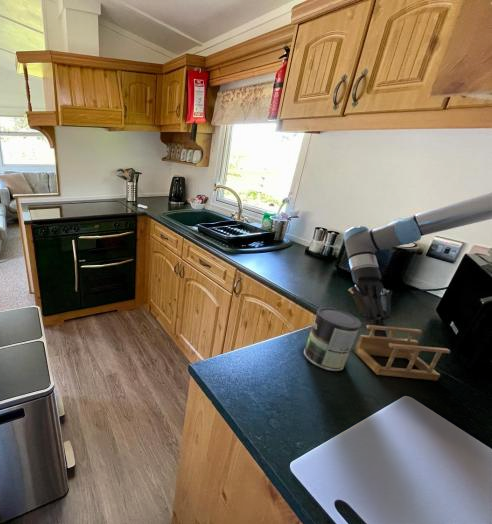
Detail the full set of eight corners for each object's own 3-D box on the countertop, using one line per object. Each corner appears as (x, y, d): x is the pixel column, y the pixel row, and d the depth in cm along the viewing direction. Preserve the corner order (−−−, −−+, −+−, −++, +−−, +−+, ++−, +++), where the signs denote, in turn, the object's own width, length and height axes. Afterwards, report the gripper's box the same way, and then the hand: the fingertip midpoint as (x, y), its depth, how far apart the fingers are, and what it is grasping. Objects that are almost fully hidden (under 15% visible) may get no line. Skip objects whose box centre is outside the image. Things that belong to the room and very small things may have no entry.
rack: (353, 351, 88) (364, 324, 84) (407, 356, 87) (420, 329, 84) (376, 374, 78) (390, 345, 75) (437, 380, 78) (453, 351, 74)
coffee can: (299, 359, 82) (313, 316, 77) (307, 343, 90) (320, 303, 85) (342, 377, 76) (360, 332, 71) (346, 358, 84) (363, 316, 79)
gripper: (376, 276, 100) (394, 345, 90) (338, 272, 101) (351, 341, 91) (393, 267, 93) (414, 341, 84) (352, 263, 94) (368, 337, 84)
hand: (381, 341), depth 87 cm, fingers closed
